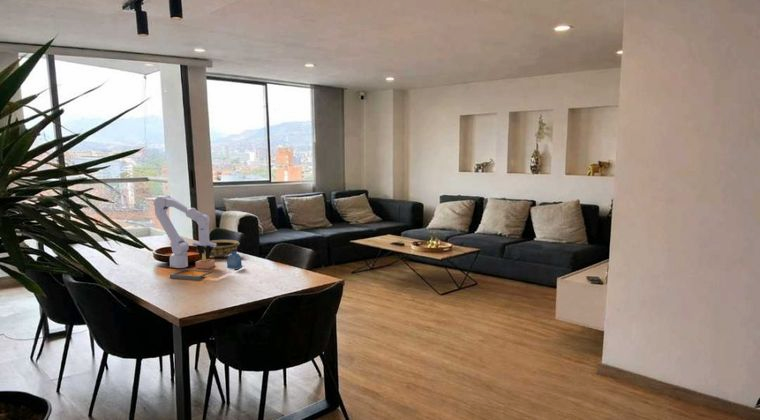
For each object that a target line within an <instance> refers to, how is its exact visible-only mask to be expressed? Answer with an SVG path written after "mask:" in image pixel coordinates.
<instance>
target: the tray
mask: <svg viewBox="0 0 760 420" xmlns="http://www.w3.org/2000/svg"><path fill="white" fill-rule="evenodd" d="M185 271H189V272H190V271H191V272H201V273H202V274H200V275H191V274H190V275H188V274H179V273H182V272H185ZM213 272H214V271H213V270H207V269H204V270H203V269H194V268H193V269H192V268H191V269H190V268H182V269H181V270H179V271H175V272H173V273H170V274H169V278H170V279H175V280H176V279H177V280H189V281H190V280H191V281H201V280H203V279H206V278H207V276H206V275H208V274H211V273H213Z"/></svg>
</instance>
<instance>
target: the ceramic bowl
mask: <svg viewBox="0 0 760 420" xmlns="http://www.w3.org/2000/svg"><path fill="white" fill-rule="evenodd" d="M209 241H210V243H216V247H213V249H212V251H211V253H210V257H213V260H223V259H226V258H227V256H229V255H231V249H232V248H236V249H237V250H238V246H240V242H239V241H238V240H234V239H214V240H213V239H212V240H209ZM205 247H207V246H205ZM205 247H204V248H205ZM204 253H206V252H205V249H204Z"/></svg>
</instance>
